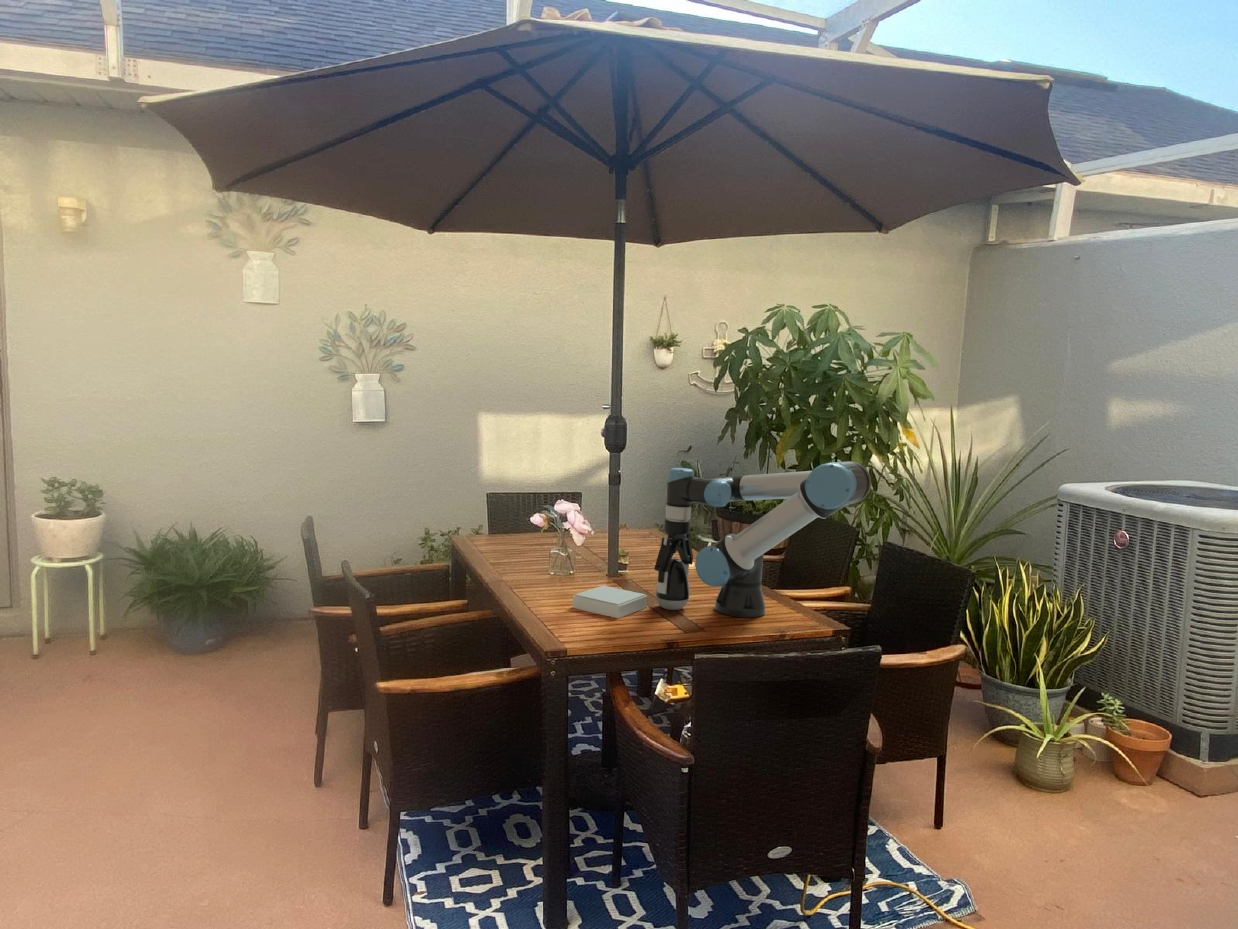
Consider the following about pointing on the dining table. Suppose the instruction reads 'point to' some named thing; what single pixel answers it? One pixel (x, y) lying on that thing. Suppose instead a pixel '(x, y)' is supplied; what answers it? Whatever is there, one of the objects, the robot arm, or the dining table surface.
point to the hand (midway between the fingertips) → (672, 589)
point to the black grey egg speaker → (675, 587)
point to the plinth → (610, 601)
